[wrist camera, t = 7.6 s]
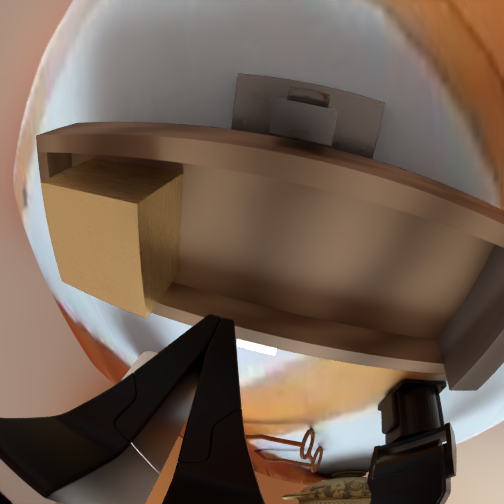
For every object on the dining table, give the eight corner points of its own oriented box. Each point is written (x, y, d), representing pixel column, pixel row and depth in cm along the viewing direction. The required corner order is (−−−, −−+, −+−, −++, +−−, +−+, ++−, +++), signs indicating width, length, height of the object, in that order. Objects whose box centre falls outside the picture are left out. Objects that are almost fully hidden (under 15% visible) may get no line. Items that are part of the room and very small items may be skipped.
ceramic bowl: (272, 475, 53) (264, 508, 44) (314, 455, 39) (306, 502, 31) (370, 484, 52) (367, 513, 43) (429, 460, 38) (430, 497, 30)
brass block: (183, 172, 13) (137, 204, 9) (179, 272, 16) (146, 318, 13) (92, 158, 13) (40, 182, 10) (100, 246, 17) (62, 281, 13)
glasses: (324, 450, 38) (321, 474, 34) (255, 449, 43) (249, 471, 39) (311, 422, 33) (306, 453, 29) (227, 421, 37) (218, 448, 33)
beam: (517, 218, 11) (567, 269, 6) (450, 338, 16) (467, 399, 11) (76, 123, 14) (9, 145, 9) (91, 252, 19) (45, 294, 15)
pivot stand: (380, 102, 13) (413, 105, 8) (317, 313, 22) (313, 373, 17) (242, 74, 14) (206, 64, 9) (220, 291, 22) (194, 344, 18)
